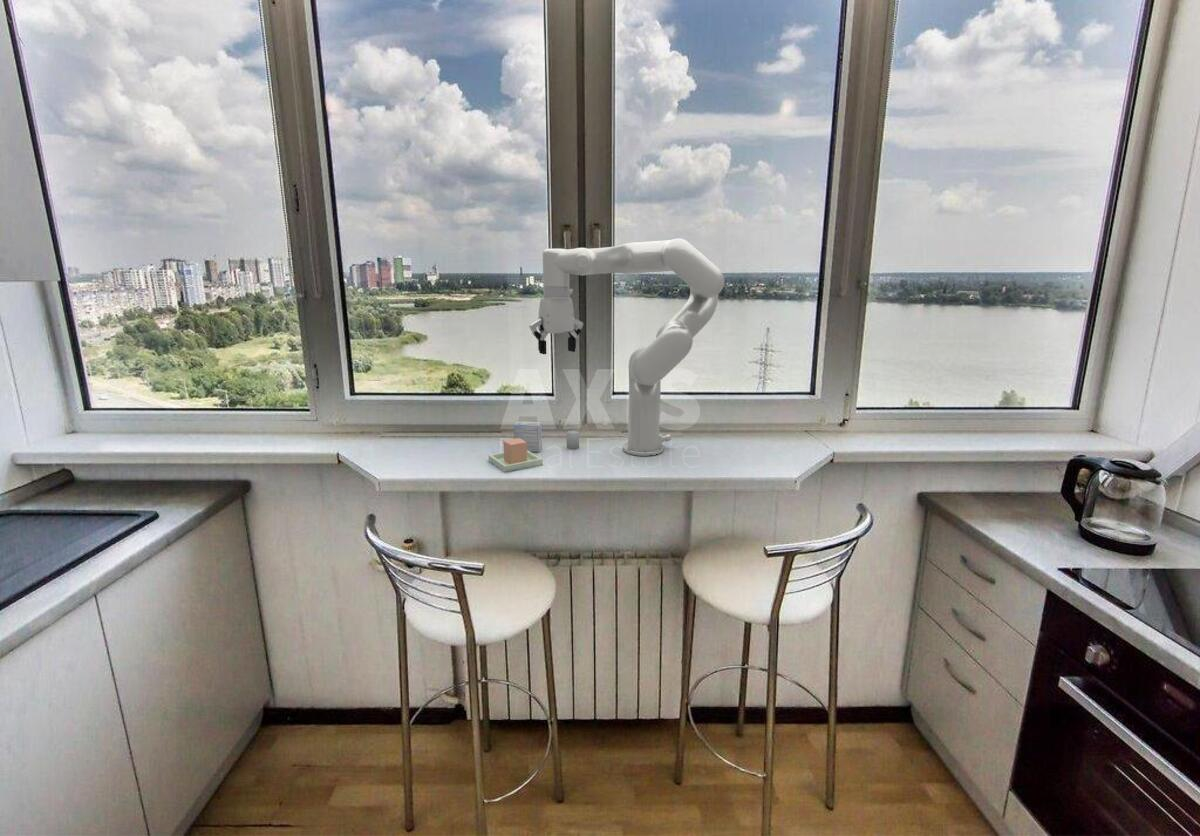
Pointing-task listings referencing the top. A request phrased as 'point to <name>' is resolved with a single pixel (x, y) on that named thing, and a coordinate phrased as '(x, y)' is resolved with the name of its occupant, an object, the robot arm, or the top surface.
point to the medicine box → (529, 434)
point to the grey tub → (572, 439)
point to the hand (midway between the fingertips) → (557, 352)
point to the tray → (504, 466)
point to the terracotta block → (515, 451)
